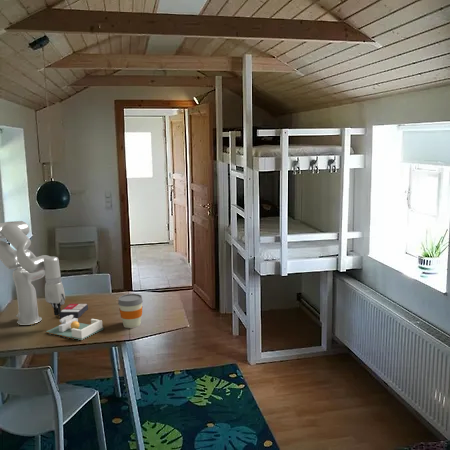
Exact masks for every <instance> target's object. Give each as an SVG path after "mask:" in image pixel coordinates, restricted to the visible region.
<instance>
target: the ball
mask: <svg viewBox="0 0 450 450" xmlns="http://www.w3.org/2000/svg"><path fill="white" fill-rule="evenodd" d="M79 323H80V322H79V321H78V322H77V321H73V322H72V323H71V329H73V328H75V329H78V328H79V326H80V324H79Z"/></svg>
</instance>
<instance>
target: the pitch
mask: <svg viewBox="0 0 450 450" xmlns="http://www.w3.org/2000/svg"><path fill="white" fill-rule="evenodd" d="M79 324H80V326H79V328H78V329H80V330H81V329H83V328H85V327H87V326H89V325H90V324H87V323H82V322H79ZM103 330H104V327H103V328H101V329H99V330H97V331H96V332H94V333H92V334H90V335H88V336H86V337H84V338H82V339H81V338H76V337H72V330H71V328H70V329H68V330H66V331H64V332H60V331H59V325H57V326H55V327H53V328H51V329H48V330H46V331H45V333H46V332H49V333H53V334H57V335H62V336H66V337H70V338H74V339H78V340H77V341H79V340H83V339H84V340H86V339H88V338H90V337H91V335H92V336H94V335H95V333H96V334H97V333H99V332H101V331H103ZM93 334H94V335H93ZM89 336H90V337H89ZM87 337H88V338H87ZM85 338H86V339H85ZM74 339H73V340H74ZM84 340H83V341H84Z"/></svg>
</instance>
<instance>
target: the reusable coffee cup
mask: <svg viewBox="0 0 450 450" xmlns="http://www.w3.org/2000/svg"><path fill="white" fill-rule="evenodd" d="M143 301H144V300H143V296H142V295H141V294H138V293H127V294H123V295H121V296H119V297H118V301H117V302H118V304H117V305H118V306H119V314H120V318H121V319H122V320H121V321H122V324H123V327H124V328H127V329H133V328H137V327H140V326H141V323H142V316H143Z"/></svg>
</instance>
